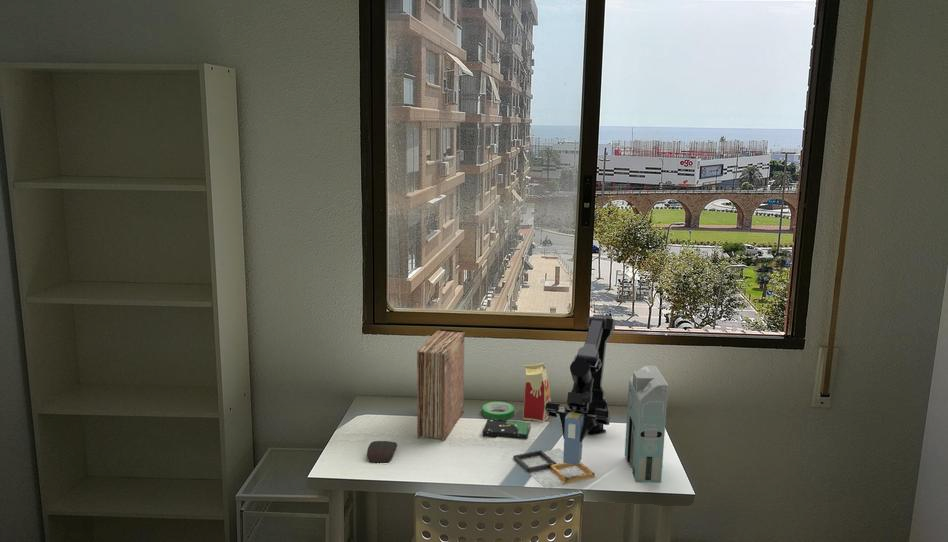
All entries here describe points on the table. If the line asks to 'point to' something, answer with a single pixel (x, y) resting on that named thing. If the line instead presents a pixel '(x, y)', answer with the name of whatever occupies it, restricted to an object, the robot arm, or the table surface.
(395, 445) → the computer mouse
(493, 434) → the disk drive
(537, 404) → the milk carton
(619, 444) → the table surface
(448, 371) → the book
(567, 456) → the plug
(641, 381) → the device
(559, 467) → the panel
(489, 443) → the table surface
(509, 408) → the tape roll
